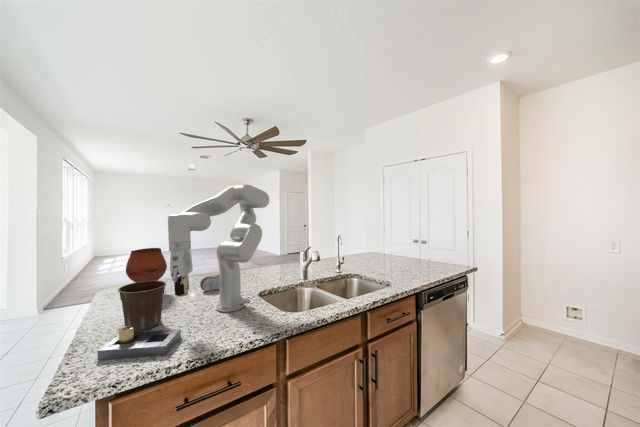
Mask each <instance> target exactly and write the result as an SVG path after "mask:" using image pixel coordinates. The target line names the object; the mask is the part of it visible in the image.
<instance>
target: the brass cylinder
mask: <svg viewBox="0 0 640 427" xmlns="http://www.w3.org/2000/svg"><path fill="white" fill-rule="evenodd" d="M178 279H180V278H178ZM183 284H184V294H183V295H175V296H176V297H184V296H185V297H186V296H187V295H189V290H188V282H187V276H185V277H183Z"/></svg>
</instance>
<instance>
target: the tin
mask: <svg viewBox="0 0 640 427" xmlns="http://www.w3.org/2000/svg"><path fill="white" fill-rule="evenodd" d="M199 285H200V289H201V290H203V291H204V292H212V291H213V292H214V291H217V290H219V291H220V285H219V274H215V275H209V276H205V277H203V278H202V279H201V280H200V284H199Z"/></svg>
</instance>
